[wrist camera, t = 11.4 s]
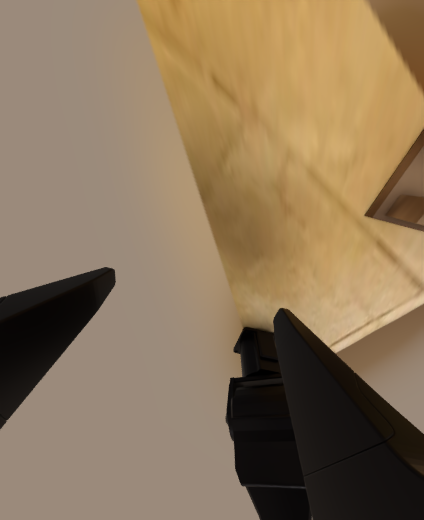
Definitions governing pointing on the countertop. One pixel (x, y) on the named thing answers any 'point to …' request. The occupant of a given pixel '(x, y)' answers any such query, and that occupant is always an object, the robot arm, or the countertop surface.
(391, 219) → the cradle
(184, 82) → the countertop surface
